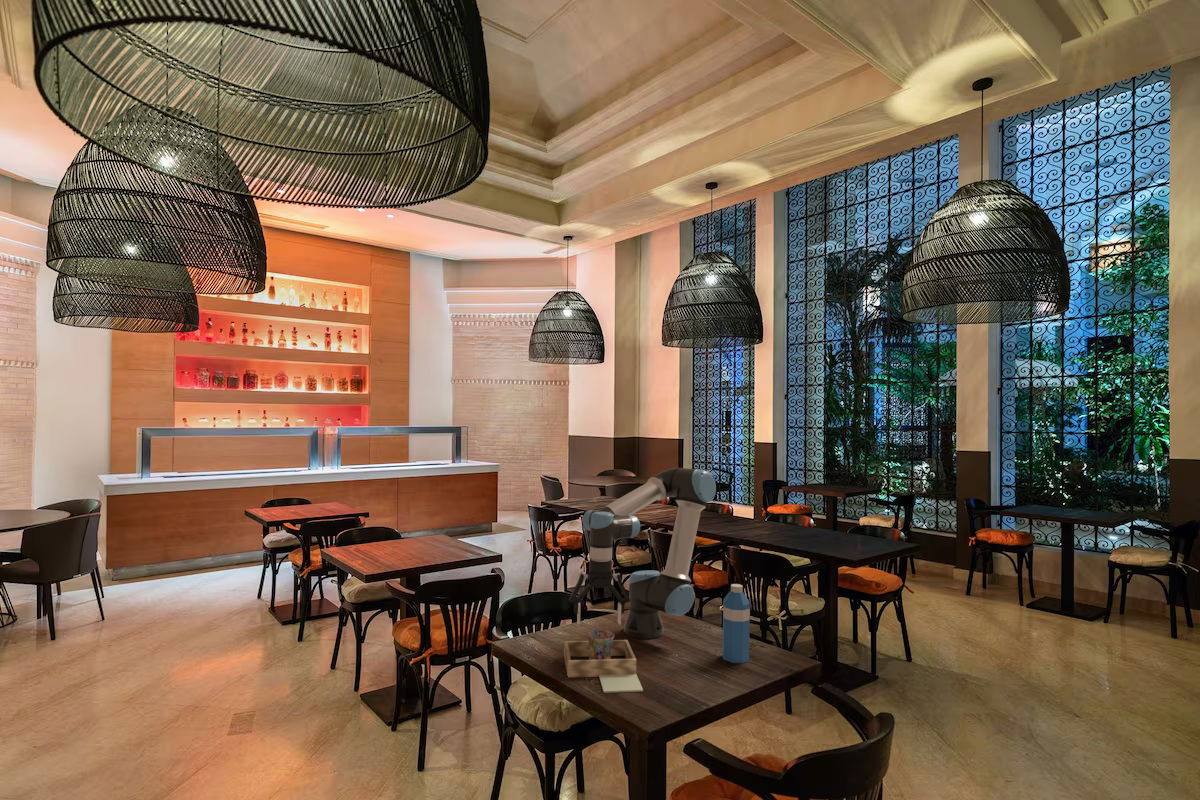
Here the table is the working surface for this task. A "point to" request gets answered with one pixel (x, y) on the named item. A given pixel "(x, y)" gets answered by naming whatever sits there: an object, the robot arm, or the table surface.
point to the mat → (620, 683)
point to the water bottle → (736, 625)
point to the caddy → (601, 665)
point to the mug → (600, 644)
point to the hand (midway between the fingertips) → (598, 623)
